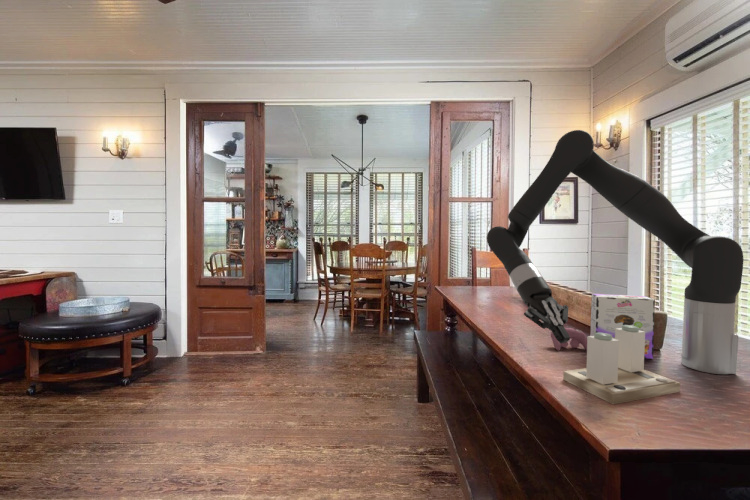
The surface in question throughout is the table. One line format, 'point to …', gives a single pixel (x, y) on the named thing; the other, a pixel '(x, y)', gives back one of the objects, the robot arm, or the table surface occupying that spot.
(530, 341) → the table surface
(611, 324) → the candy box
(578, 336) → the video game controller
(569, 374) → the switch board
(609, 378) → the white bottle with cap
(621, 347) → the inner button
